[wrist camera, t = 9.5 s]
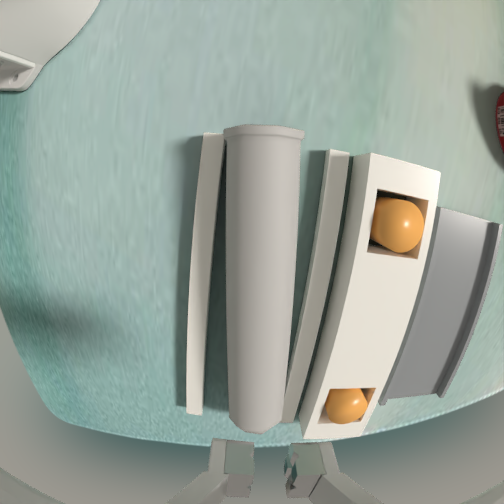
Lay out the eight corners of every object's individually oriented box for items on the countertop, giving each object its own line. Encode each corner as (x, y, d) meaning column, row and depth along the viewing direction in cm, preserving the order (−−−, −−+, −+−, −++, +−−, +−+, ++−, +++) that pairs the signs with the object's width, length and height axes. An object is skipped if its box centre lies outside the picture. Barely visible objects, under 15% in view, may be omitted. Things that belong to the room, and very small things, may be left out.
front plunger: (358, 238, 22) (375, 249, 19) (365, 193, 21) (385, 195, 18) (397, 244, 22) (418, 255, 19) (404, 201, 21) (427, 205, 18)
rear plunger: (316, 400, 26) (323, 424, 22) (326, 372, 25) (334, 396, 22) (350, 400, 26) (359, 423, 22) (361, 372, 25) (372, 394, 22)
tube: (291, 436, 23) (319, 130, 17) (235, 450, 21) (234, 121, 15) (270, 401, 28) (283, 138, 22) (220, 411, 26) (215, 134, 20)
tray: (375, 396, 27) (380, 405, 25) (431, 205, 22) (441, 207, 20) (438, 390, 27) (443, 397, 25) (493, 222, 22) (502, 225, 21)
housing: (188, 405, 27) (182, 429, 23) (206, 134, 21) (198, 127, 17) (351, 414, 27) (360, 436, 24) (417, 171, 21) (440, 172, 18)
